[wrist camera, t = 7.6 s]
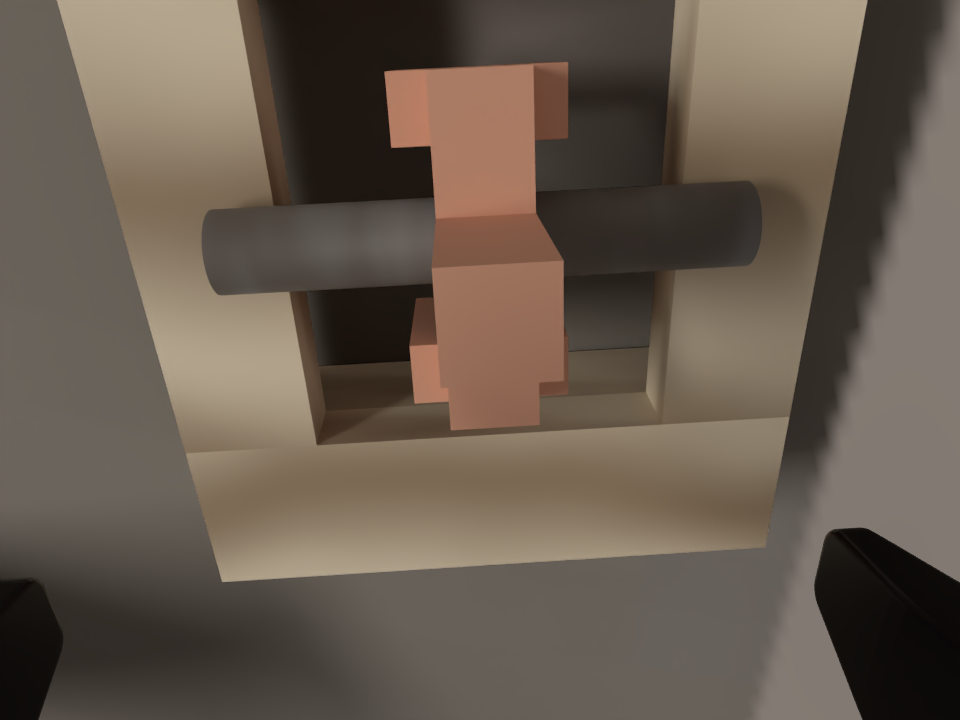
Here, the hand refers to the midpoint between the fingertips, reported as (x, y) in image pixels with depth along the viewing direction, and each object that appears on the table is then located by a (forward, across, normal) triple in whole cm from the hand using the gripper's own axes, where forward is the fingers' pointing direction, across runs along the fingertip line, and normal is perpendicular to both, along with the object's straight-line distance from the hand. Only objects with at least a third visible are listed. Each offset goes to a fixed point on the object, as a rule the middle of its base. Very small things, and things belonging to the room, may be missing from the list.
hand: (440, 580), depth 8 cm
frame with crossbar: (+12, -1, -2) cm, 12 cm away
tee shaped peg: (+9, -1, -2) cm, 9 cm away
